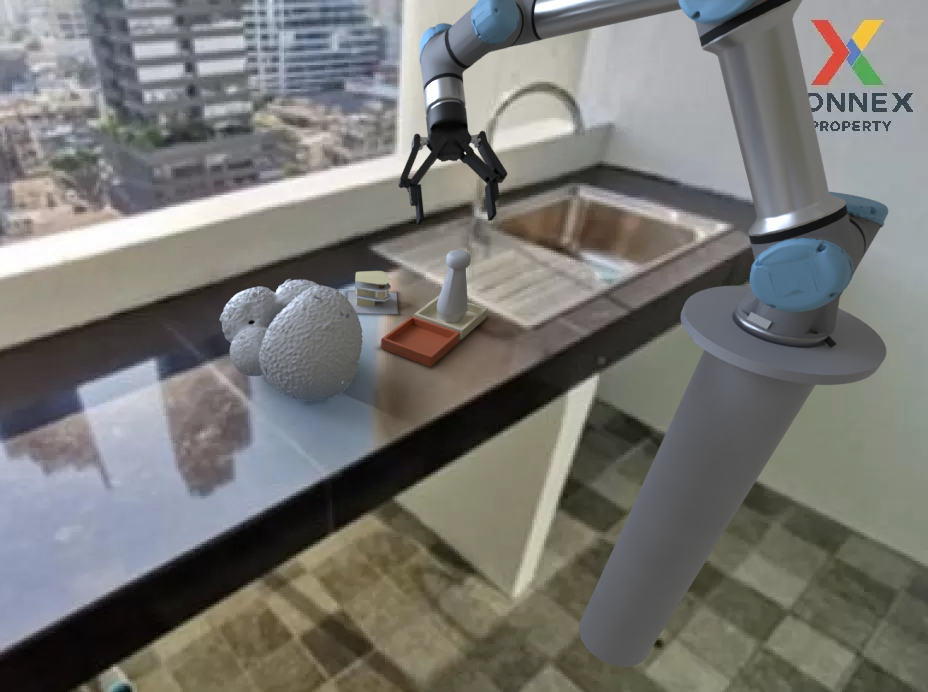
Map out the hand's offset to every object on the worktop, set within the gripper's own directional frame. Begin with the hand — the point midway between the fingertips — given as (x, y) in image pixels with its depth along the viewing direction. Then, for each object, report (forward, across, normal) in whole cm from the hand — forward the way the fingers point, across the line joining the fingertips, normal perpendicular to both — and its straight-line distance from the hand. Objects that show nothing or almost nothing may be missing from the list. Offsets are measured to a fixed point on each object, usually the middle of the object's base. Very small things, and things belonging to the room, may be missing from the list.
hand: (456, 219), depth 112 cm
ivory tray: (+18, +2, -5) cm, 18 cm away
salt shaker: (+18, +2, -4) cm, 18 cm away
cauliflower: (+29, +32, +6) cm, 44 cm away
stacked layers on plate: (+12, +16, -11) cm, 22 cm away
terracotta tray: (+24, +9, +1) cm, 25 cm away
